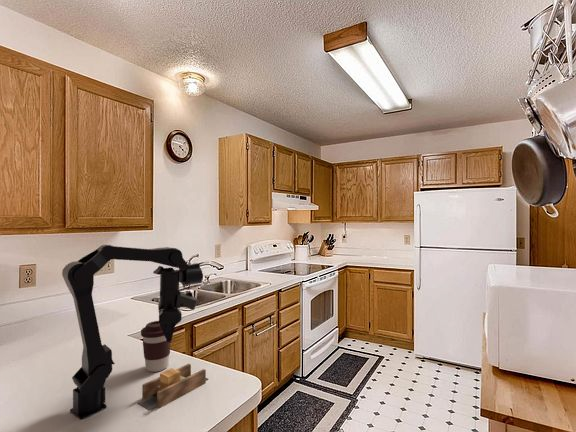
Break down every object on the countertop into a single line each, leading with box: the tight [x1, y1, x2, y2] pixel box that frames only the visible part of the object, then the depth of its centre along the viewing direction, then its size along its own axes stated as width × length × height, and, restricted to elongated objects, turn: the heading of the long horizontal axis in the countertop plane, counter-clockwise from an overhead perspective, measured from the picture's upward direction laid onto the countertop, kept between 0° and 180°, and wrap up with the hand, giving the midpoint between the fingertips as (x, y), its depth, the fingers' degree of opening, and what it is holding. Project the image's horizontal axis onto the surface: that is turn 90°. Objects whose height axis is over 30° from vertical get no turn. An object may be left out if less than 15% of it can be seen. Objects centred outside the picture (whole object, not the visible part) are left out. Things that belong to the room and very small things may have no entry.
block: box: [159, 368, 180, 389], centre depth 93 cm, size 4×4×4 cm
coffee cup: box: [140, 320, 172, 373], centre depth 110 cm, size 10×10×15 cm
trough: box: [137, 363, 209, 411], centre depth 95 cm, size 20×8×4 cm, turn 146°
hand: (168, 337), depth 101 cm, fingers open, 9 cm apart
